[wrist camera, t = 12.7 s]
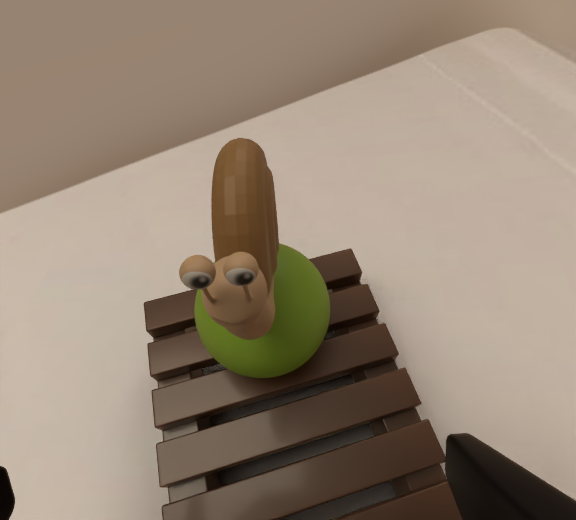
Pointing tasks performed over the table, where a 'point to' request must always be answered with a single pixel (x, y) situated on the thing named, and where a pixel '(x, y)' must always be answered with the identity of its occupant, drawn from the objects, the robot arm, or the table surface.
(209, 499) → the rack
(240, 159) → the snail figurine
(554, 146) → the table surface
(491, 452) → the robot arm
